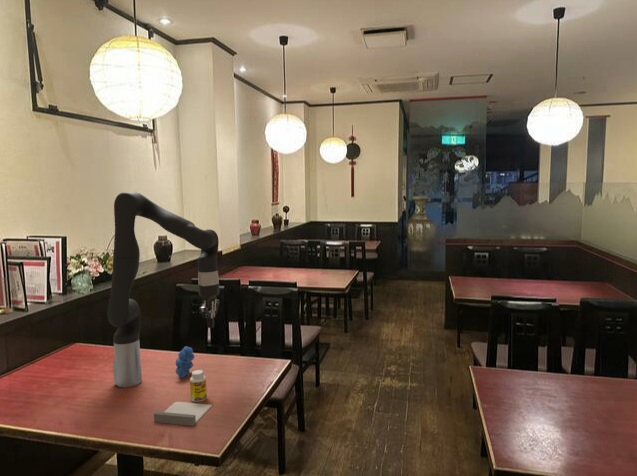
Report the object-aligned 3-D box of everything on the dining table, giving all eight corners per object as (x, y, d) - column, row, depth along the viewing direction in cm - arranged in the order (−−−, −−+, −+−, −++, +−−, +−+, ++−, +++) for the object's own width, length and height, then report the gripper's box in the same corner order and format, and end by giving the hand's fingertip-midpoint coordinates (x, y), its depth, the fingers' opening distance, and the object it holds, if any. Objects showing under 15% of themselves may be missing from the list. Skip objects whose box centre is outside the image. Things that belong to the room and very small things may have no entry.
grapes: (184, 369, 190) (183, 341, 188) (198, 370, 188) (197, 343, 187) (168, 380, 179) (166, 351, 177) (183, 382, 177) (181, 353, 175)
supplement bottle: (193, 404, 159) (192, 376, 157) (188, 398, 163) (187, 371, 162) (209, 400, 162) (207, 372, 160) (203, 394, 166) (202, 367, 165)
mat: (154, 421, 147) (153, 413, 147) (175, 402, 160) (175, 395, 160) (193, 425, 144) (192, 417, 144) (211, 406, 157) (211, 398, 157)
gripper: (207, 278, 177) (209, 321, 179) (190, 286, 164) (193, 332, 166) (225, 279, 175) (227, 322, 177) (209, 286, 162) (212, 333, 164)
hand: (210, 327), depth 171 cm, fingers closed
